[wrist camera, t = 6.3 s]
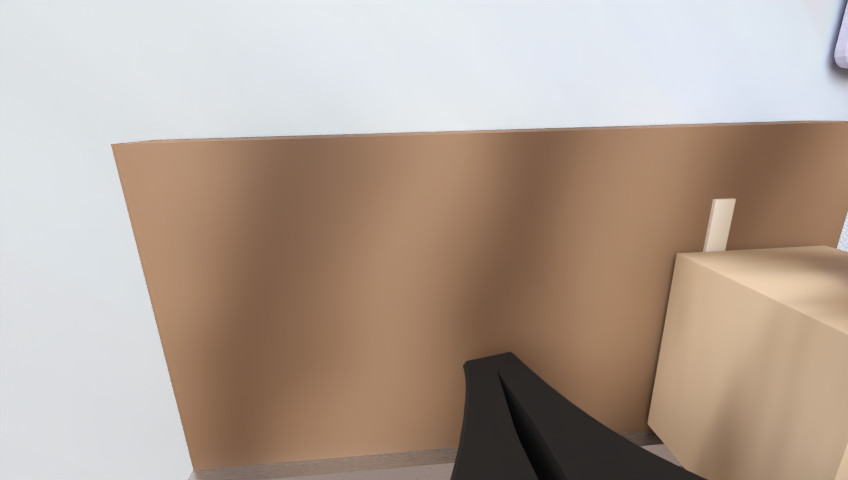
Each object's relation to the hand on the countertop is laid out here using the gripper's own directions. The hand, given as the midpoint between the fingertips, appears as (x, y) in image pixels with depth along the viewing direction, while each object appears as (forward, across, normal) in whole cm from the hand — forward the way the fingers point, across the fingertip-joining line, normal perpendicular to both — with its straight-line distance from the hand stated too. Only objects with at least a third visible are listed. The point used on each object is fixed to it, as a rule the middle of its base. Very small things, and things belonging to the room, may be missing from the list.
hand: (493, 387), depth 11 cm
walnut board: (+3, -1, +1) cm, 4 cm away
